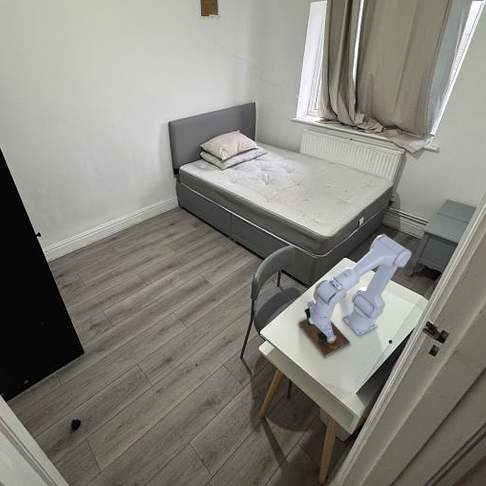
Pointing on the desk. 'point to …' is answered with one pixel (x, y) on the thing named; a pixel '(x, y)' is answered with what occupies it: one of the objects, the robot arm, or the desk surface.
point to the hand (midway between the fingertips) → (315, 333)
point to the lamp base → (327, 347)
